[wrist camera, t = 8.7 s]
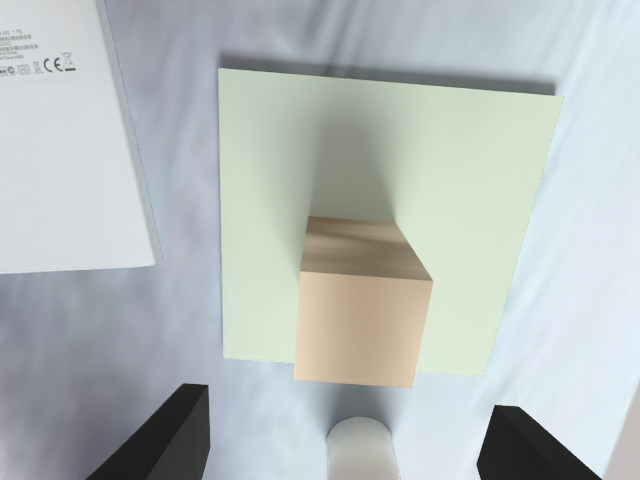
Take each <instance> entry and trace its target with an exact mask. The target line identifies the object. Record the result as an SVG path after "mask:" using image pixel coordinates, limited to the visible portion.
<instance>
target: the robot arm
mask: <svg viewBox="0 0 640 480" xmlns="http://www.w3.org/2000/svg"><path fill="white" fill-rule="evenodd" d="M209 450H210V422H209V394H208V385H200V384H186V383H184V384H182V385H181V386H180V387H179V388H178V389H177V390H176V391H175V392H174V393H173V394H172V395H171V396H170V397H169V398H168V399H167V400H166V401H165V402H164V403H163V405H162V406H161V407H160V408H159V409H158V410H157V411H156V412H155V413H154V414H153V415H152V416H151V417H150V418H149V419H148V420H147V421H146V422H145V423H144V424H143V425H142V426H141V427H140V428H139V429H138V430H137V431H136V432H135V433H134V434H133V435H132V436H131V437H130V438H129V439H128V440H127V441H126V442H125V443H124V444H123V445H122V446H121V447H120V448H119V449H118V450H117V451H116V452H115V453H114V454H113V455H111V456H110V457H109V458H108V459H107V460H106V461H105V462H104V463H103V464H102V465H101V466H100V467H99V468H98V469H97V470H95V471H94V472H93V473H92V474H91V475H90V476H89V477H88V478H87V479H85V480H202V476H203V473H204V469H205V465H206V461H207V458H208V454H209ZM476 465H477V468H478V472H479V475H480V478H481V480H602V479H601V478H600V477H598V476H597V475H596V474H595V473H594V472H593V471H592V470H590V469H589V468H588V467H587V466H586V465H585V464H584V463H583V462H581V461H580V460H579V459H578V458H577V457H576V456H575V455H574V454H572V453H571V452H570V451H569V450H568V449H567V448H566V447H565V446H563V445H562V444H561V443H560V442H559V441H558V440H557V439H556V438H554V437H553V436H552V435H551V434H550V433H549V432H548V431H547V430H545V429H544V428H543V427H542V426H541V425H540V424H539V423H537V422H536V421H535V420H534V419H533V418H532V417H531V416H529V415H528V414H527V413H526V412H525V411H523V410H522V409H521V408H520V407H517V406H502V405H495V406H494V409H493V412H492V416H491V419H490V422H489V425H488V429H487V432H486V435H485V438H484V442H483V445H482V448H481V451H480V455H479V458H478V461H477V464H476Z"/></svg>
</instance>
